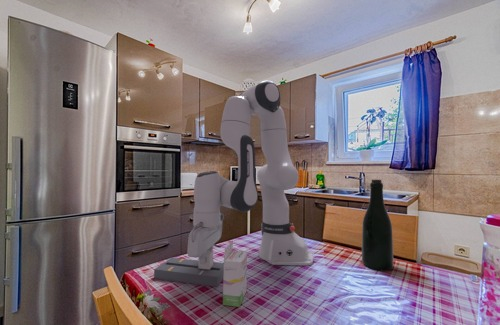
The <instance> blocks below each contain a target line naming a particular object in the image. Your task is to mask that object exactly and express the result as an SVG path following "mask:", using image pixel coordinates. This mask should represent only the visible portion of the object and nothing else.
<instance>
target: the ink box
mask: <svg viewBox="0 0 500 325" xmlns="http://www.w3.org/2000/svg"><path fill="white" fill-rule="evenodd" d="M233 247H234V240H231V241H230V242H229V244H228V245H227V246H226V247H225V248H224V255H223V263H224V276H223V279H222V281H223V282H222V284H223V286H222V305H223V306H227V307H228V306H229V307H235V308H237V307H238V308H240V307H241V304H242V302H243V301H244V298H245V295H246V293H247V287H248V286H247V285H248V284H247V282H248V281H247V280H248V278H247V277H248V274H247V273H248V272H247V271H248V251H246V250H237V249H236V250H235V249H233Z"/></svg>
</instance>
